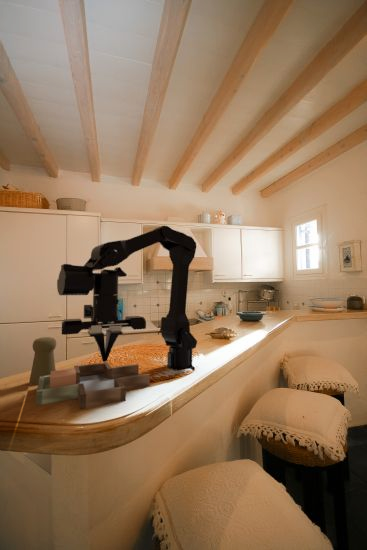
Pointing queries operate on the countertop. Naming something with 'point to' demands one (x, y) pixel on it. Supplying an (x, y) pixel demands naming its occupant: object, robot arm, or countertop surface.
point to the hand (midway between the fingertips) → (104, 361)
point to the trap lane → (94, 385)
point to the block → (62, 378)
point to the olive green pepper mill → (42, 359)
